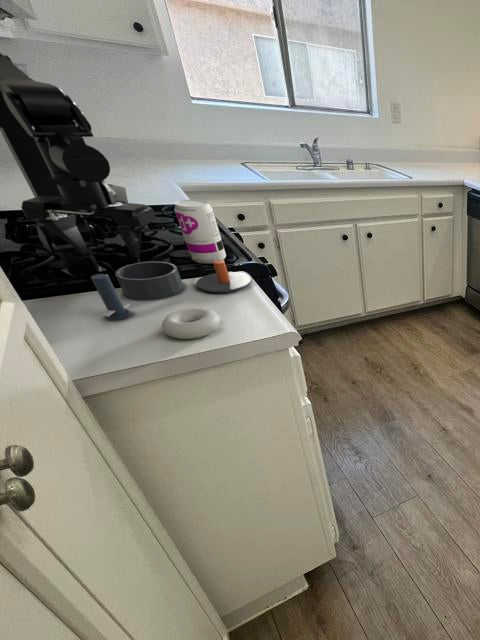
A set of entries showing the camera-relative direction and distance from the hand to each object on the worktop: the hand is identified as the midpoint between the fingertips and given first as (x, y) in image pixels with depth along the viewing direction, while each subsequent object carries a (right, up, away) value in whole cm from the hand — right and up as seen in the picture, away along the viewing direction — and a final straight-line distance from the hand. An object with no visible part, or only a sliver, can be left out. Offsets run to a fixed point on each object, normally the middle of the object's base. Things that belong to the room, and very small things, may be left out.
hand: (111, 255), depth 83 cm
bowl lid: (+8, 0, +22) cm, 23 cm away
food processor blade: (-3, -11, +5) cm, 13 cm away
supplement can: (-4, +9, +33) cm, 35 cm away
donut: (+14, -15, +4) cm, 21 cm away
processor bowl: (-5, -3, +16) cm, 17 cm away
